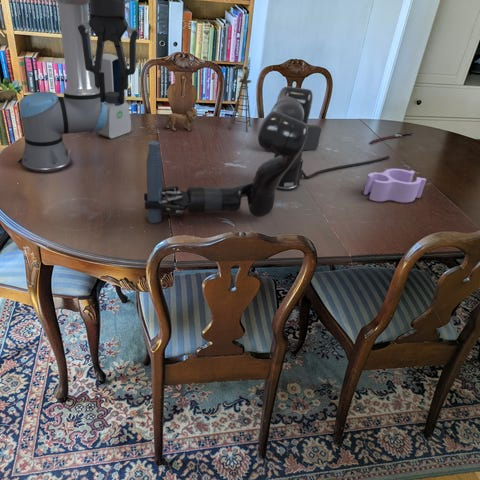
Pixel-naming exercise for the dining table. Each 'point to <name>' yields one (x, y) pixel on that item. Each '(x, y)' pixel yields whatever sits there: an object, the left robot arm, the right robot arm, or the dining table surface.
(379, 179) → the clip
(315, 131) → the handheld gaming console
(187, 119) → the lion figurine
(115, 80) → the electronic device
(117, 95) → the cap
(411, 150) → the dining table surface
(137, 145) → the dining table surface
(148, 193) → the bottle
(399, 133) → the sword
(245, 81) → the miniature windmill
